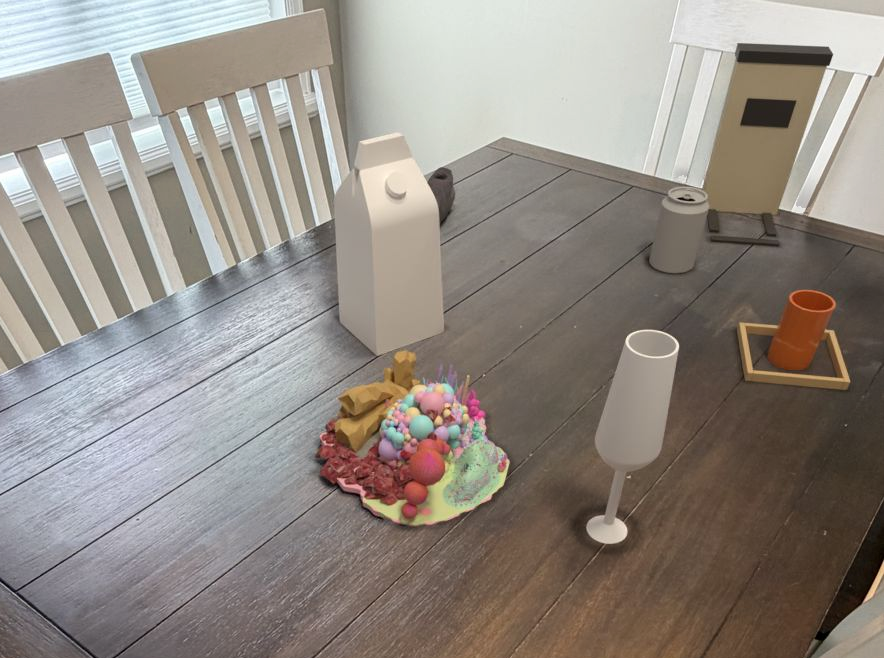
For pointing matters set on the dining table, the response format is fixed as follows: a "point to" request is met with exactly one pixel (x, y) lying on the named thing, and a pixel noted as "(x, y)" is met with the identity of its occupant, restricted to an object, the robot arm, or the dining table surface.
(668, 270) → the can
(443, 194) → the perforated stone tool
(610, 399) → the champagne flute
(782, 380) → the tan wooden square frame
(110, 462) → the dining table surface
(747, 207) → the standing sign board
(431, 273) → the milk
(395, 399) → the candy landscape model
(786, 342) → the cup
